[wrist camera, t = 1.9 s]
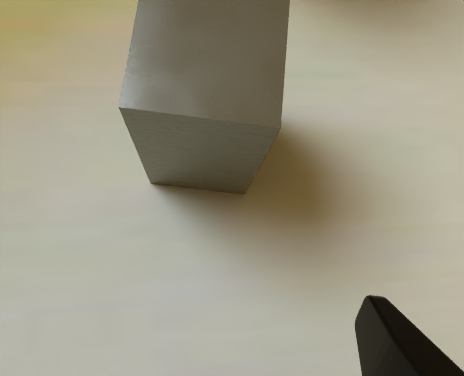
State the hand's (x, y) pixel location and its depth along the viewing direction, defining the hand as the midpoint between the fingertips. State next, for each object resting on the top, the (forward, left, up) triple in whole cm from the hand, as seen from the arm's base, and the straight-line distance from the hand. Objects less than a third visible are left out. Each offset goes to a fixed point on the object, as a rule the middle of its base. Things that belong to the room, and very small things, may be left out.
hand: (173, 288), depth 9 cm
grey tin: (+7, +5, -13) cm, 16 cm away
